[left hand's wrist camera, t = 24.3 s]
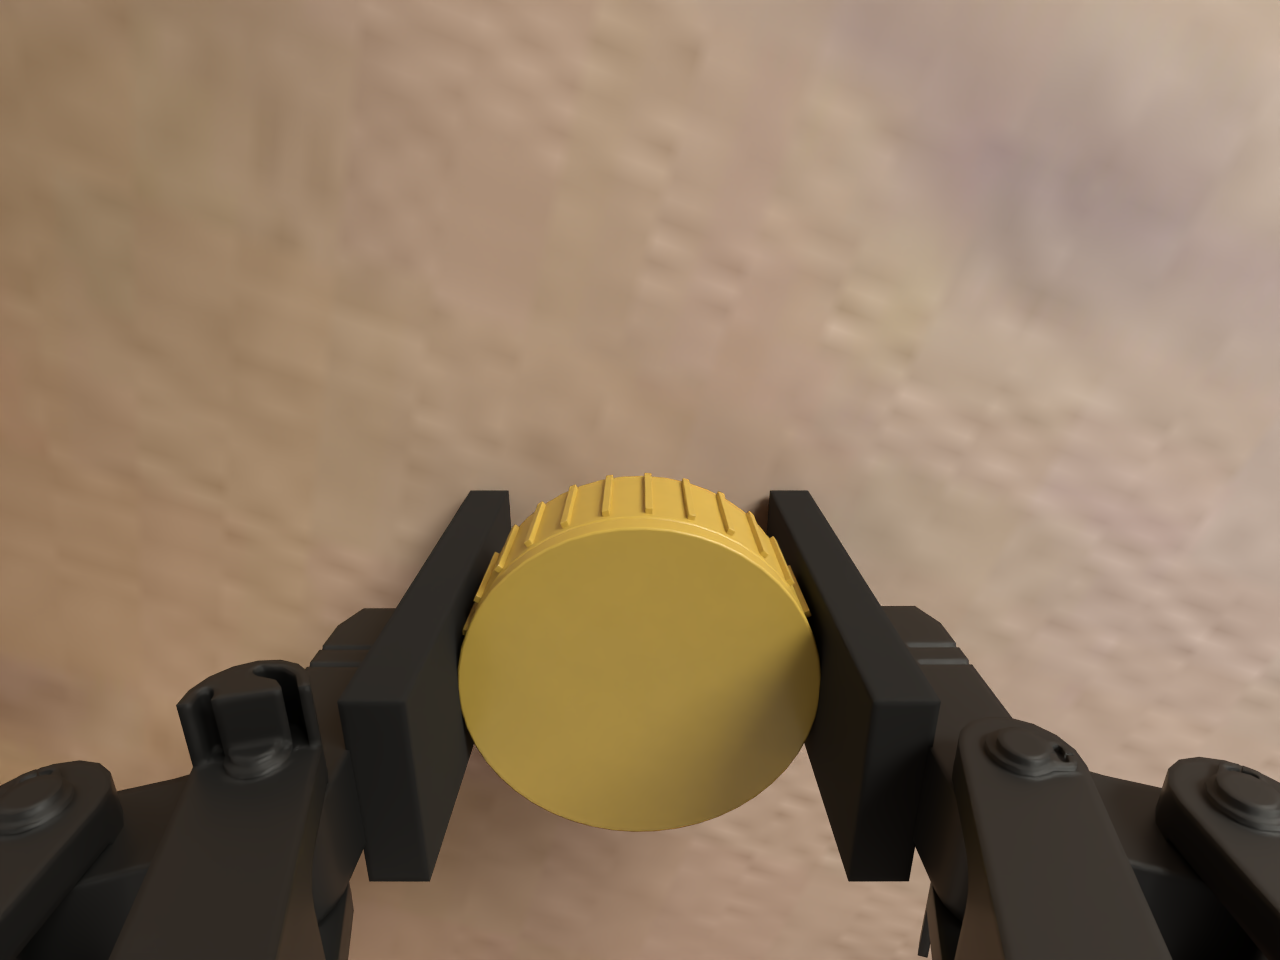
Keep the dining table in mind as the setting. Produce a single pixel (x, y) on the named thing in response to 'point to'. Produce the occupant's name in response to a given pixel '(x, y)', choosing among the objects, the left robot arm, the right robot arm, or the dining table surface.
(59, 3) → the dining table surface
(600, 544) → the lid
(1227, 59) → the dining table surface
